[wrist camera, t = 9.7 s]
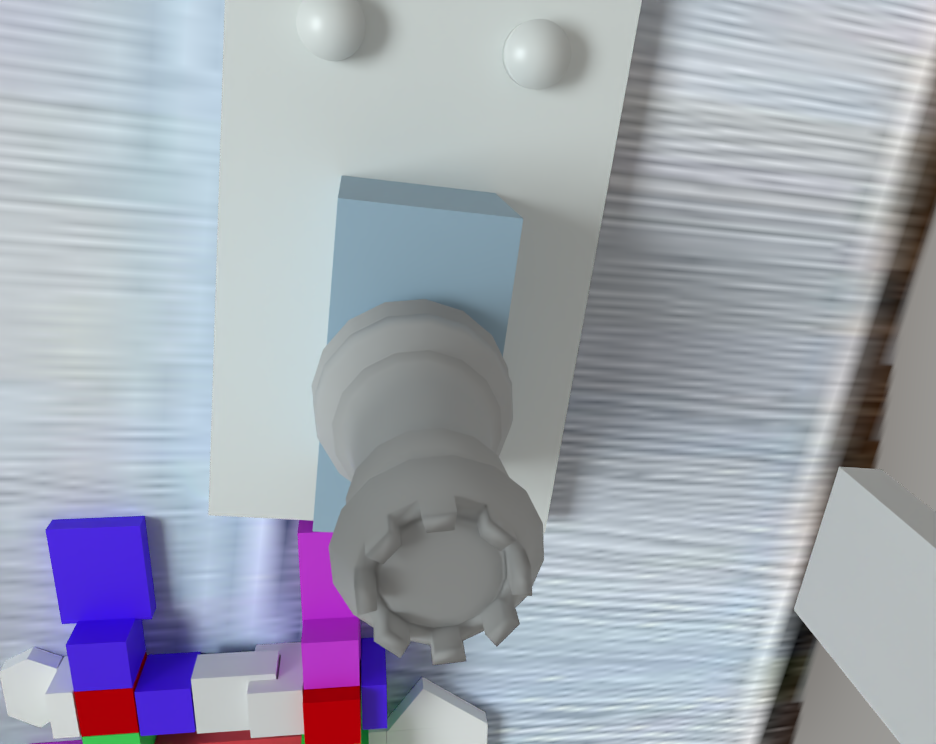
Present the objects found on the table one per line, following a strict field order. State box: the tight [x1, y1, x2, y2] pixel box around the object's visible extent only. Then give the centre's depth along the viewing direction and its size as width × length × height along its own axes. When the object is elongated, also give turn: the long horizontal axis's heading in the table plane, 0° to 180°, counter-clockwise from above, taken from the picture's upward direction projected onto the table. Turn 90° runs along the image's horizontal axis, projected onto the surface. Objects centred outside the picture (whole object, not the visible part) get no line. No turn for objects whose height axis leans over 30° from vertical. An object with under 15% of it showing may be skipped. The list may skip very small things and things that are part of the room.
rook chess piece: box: [312, 299, 544, 665], centre depth 15 cm, size 4×4×8 cm
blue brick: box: [313, 176, 523, 532], centre depth 21 cm, size 8×4×4 cm, turn 173°
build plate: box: [209, 0, 642, 533], centre depth 22 cm, size 18×10×2 cm, turn 172°
